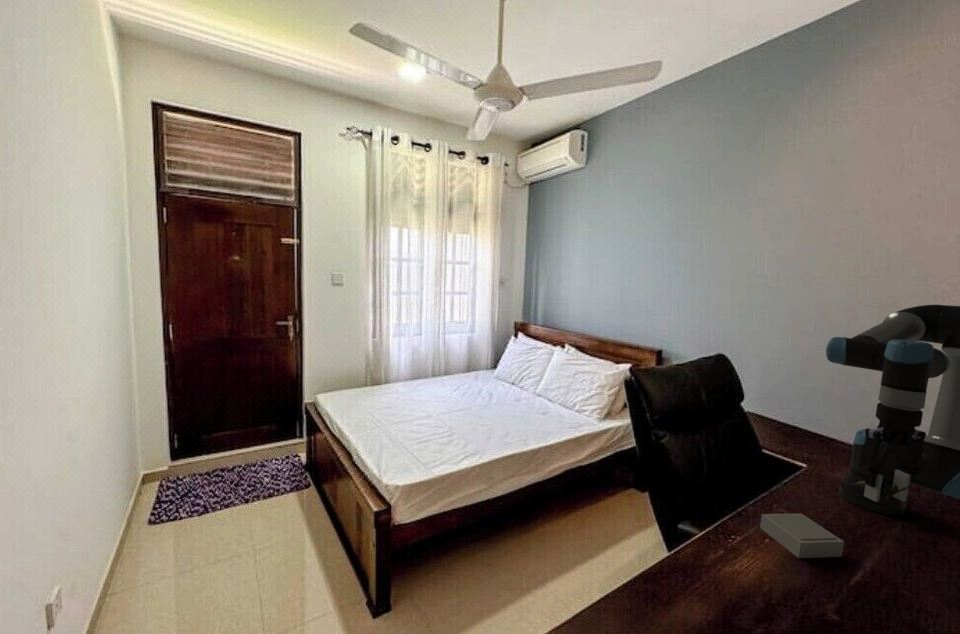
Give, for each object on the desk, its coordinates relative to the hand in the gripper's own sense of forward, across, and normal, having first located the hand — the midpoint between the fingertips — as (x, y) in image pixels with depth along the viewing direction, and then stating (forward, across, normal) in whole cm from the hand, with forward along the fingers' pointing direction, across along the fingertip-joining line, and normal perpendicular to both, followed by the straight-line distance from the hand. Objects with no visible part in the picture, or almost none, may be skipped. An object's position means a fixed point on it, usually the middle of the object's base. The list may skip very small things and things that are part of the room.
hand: (884, 498), depth 98 cm
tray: (+17, +12, -9) cm, 22 cm away
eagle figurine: (+1, -1, -3) cm, 3 cm away
